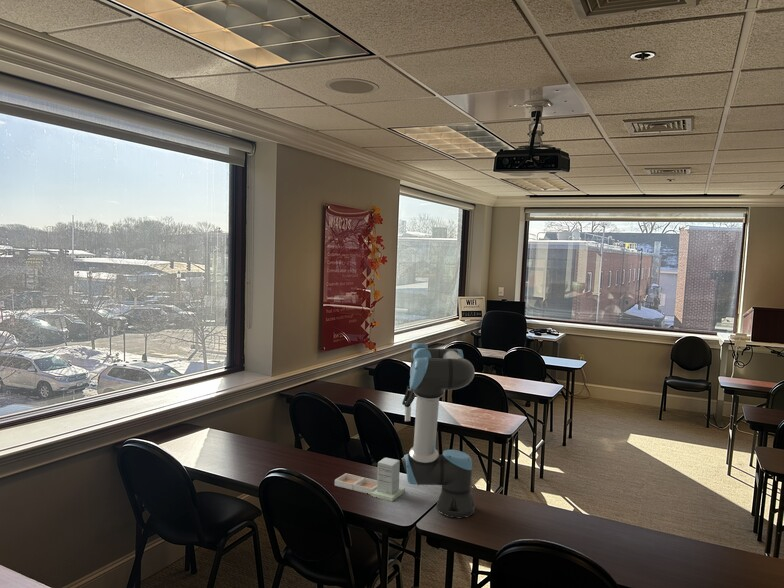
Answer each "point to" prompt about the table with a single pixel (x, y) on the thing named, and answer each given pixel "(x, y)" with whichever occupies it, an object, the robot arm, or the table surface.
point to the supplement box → (388, 475)
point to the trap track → (365, 486)
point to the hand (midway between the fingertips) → (416, 423)
